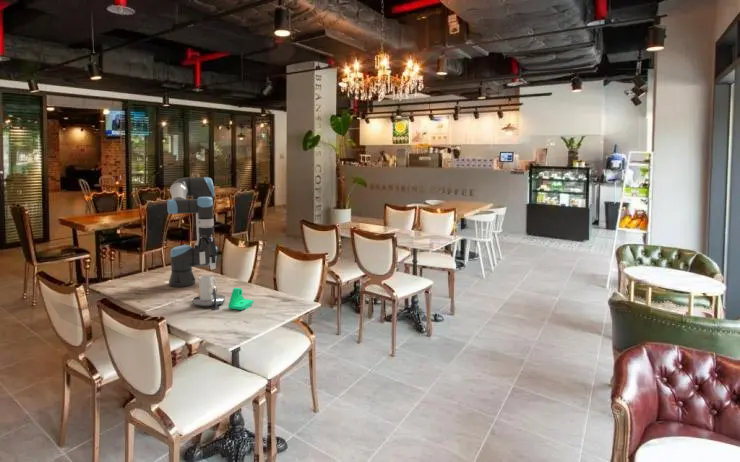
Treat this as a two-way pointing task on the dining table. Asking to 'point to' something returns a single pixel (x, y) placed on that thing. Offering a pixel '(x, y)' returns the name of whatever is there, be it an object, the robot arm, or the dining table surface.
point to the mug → (205, 287)
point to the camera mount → (239, 300)
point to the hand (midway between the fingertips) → (207, 266)
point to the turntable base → (207, 306)
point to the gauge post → (212, 291)
